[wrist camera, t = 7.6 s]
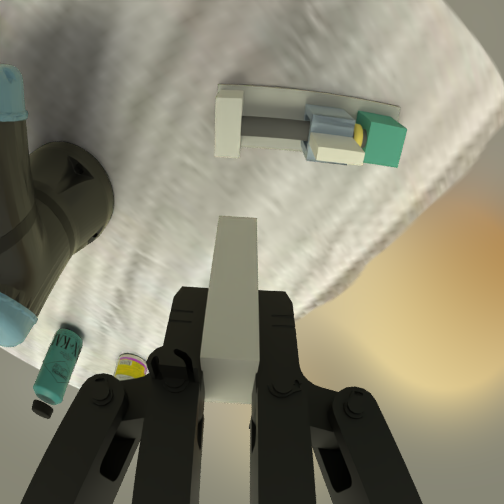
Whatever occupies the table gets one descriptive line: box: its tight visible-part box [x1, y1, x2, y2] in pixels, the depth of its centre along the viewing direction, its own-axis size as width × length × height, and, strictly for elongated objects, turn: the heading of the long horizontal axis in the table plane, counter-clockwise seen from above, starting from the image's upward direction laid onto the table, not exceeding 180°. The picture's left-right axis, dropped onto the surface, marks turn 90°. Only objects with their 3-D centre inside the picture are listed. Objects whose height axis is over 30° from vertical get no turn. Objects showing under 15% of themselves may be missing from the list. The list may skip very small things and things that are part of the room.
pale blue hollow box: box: [301, 104, 365, 166], centre depth 28 cm, size 4×5×9 cm
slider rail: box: [214, 84, 407, 168], centre depth 31 cm, size 20×7×5 cm, turn 86°
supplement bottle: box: [113, 354, 147, 381], centre depth 58 cm, size 7×7×13 cm
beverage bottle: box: [32, 329, 83, 419], centre depth 50 cm, size 6×7×20 cm
